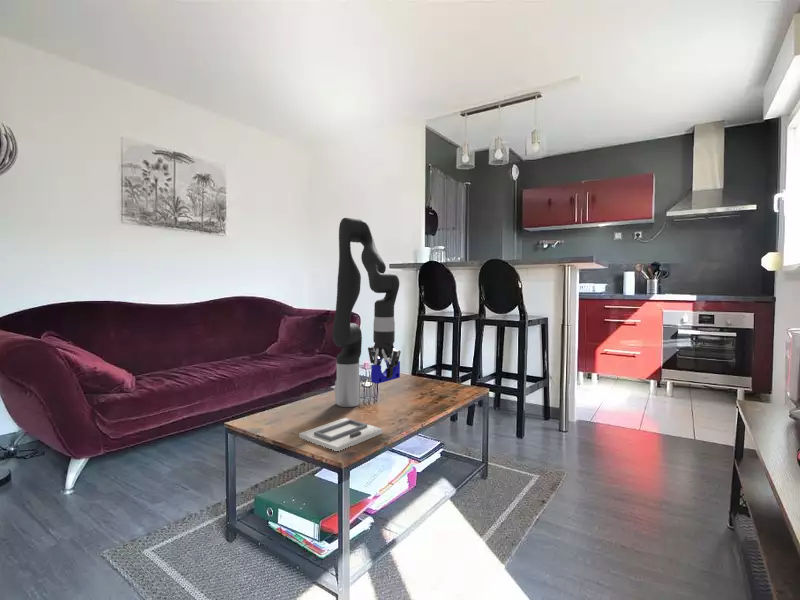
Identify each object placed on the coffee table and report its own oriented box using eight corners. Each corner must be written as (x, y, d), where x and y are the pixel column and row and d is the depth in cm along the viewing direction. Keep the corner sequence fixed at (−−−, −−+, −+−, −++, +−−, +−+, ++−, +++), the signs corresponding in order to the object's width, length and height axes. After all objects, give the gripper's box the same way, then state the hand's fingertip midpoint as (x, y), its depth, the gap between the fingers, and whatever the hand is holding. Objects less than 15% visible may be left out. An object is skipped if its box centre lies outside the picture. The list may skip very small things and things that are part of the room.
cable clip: (390, 375, 157) (390, 359, 156) (399, 377, 154) (400, 361, 154) (368, 381, 148) (368, 364, 147) (377, 383, 145) (377, 366, 144)
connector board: (299, 437, 136) (299, 430, 136) (344, 421, 151) (344, 415, 151) (337, 452, 124) (337, 443, 124) (382, 433, 140) (382, 425, 140)
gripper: (406, 330, 148) (405, 378, 149) (376, 326, 157) (376, 372, 158) (392, 332, 142) (391, 382, 143) (362, 328, 151) (361, 375, 152)
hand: (383, 376), depth 150 cm, fingers closed on cable clip, 4 cm apart
